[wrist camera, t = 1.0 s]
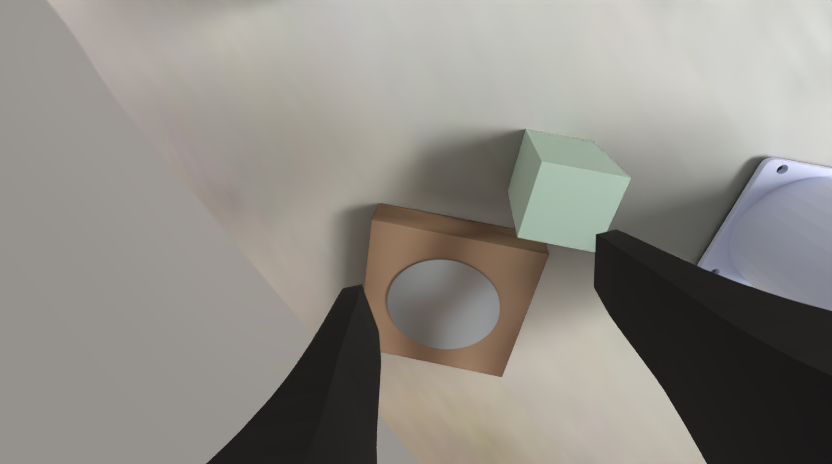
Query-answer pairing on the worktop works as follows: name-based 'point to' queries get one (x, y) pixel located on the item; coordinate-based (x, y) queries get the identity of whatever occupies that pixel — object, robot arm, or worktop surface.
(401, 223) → the walnut base
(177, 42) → the worktop surface
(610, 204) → the sage block
